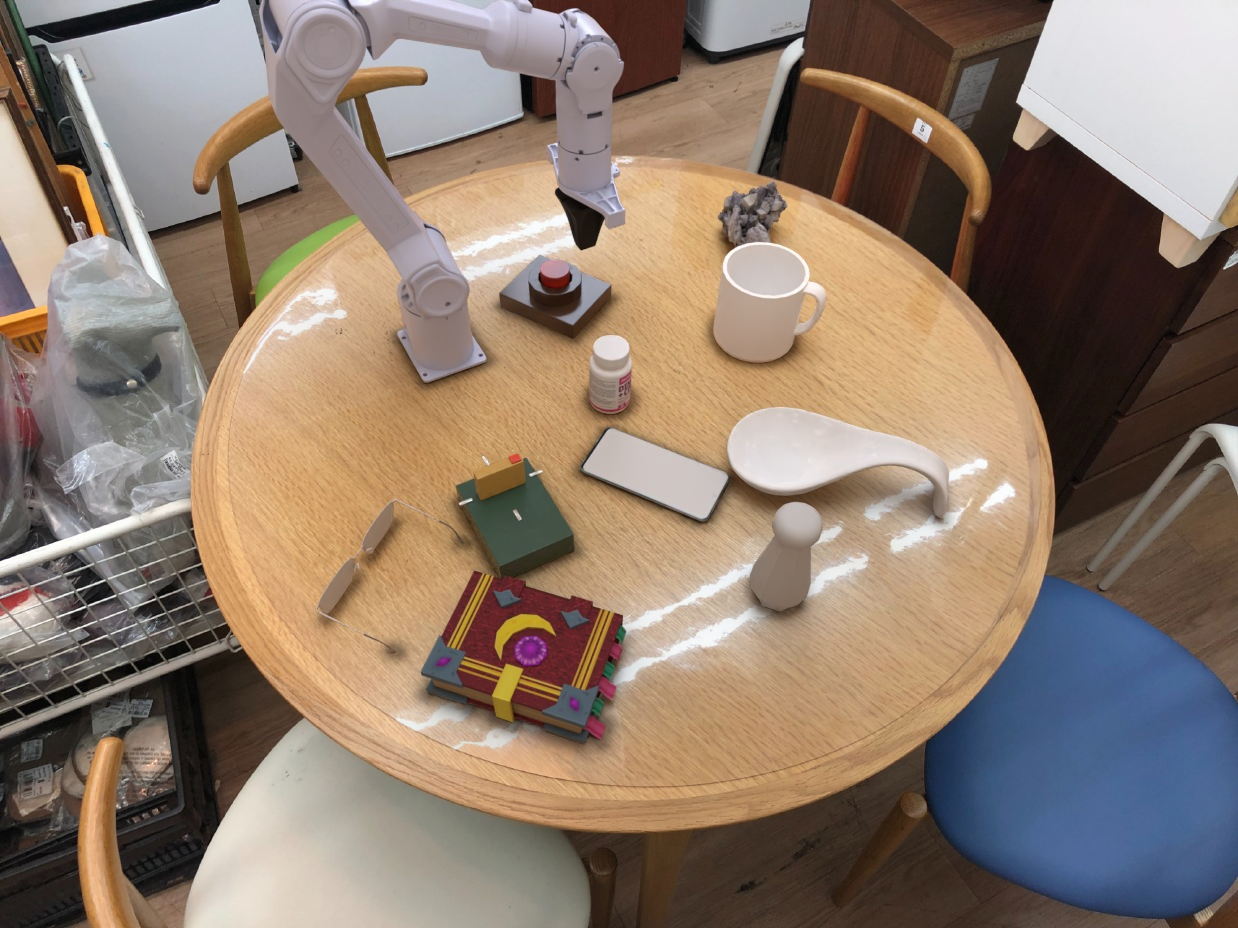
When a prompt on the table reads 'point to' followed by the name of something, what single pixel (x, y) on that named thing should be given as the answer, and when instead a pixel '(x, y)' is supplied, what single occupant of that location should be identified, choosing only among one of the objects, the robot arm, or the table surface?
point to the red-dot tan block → (499, 476)
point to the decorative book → (528, 656)
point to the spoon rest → (821, 453)
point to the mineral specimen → (751, 214)
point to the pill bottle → (610, 374)
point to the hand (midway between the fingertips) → (585, 245)
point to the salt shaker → (787, 557)
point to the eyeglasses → (347, 569)
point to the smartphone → (656, 473)
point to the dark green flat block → (517, 524)
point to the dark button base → (556, 298)
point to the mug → (763, 301)
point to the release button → (555, 274)
